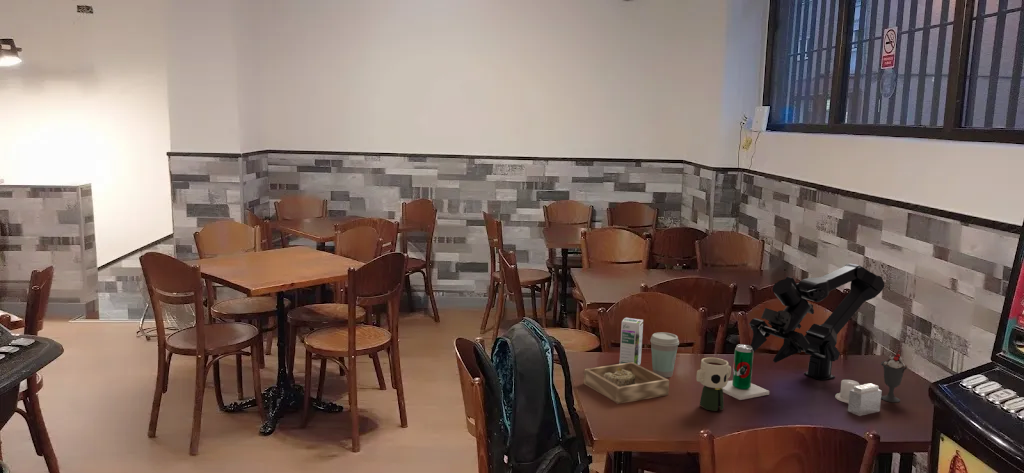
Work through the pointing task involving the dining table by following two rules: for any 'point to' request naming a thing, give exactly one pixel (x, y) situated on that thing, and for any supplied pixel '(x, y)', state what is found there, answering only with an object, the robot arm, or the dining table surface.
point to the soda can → (742, 367)
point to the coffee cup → (664, 353)
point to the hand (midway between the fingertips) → (761, 357)
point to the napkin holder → (864, 399)
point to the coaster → (744, 391)
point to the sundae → (893, 375)
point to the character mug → (713, 382)
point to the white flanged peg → (846, 390)
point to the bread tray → (643, 388)
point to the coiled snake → (621, 377)
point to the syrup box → (631, 341)
